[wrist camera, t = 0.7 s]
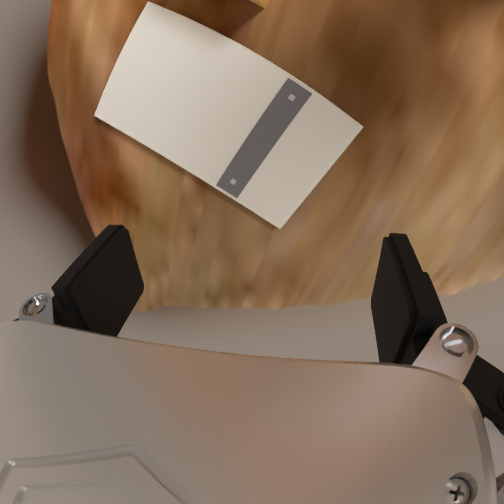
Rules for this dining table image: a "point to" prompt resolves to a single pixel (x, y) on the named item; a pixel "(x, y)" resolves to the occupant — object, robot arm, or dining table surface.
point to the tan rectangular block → (261, 2)
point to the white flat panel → (224, 113)
